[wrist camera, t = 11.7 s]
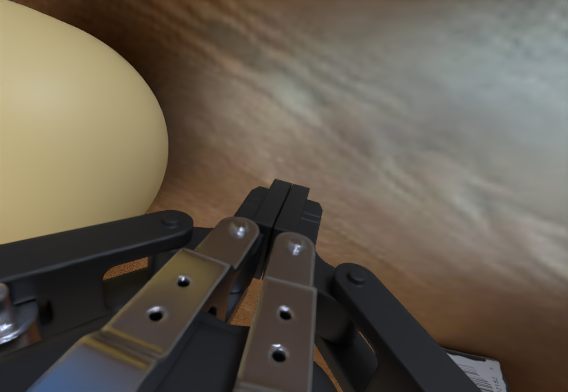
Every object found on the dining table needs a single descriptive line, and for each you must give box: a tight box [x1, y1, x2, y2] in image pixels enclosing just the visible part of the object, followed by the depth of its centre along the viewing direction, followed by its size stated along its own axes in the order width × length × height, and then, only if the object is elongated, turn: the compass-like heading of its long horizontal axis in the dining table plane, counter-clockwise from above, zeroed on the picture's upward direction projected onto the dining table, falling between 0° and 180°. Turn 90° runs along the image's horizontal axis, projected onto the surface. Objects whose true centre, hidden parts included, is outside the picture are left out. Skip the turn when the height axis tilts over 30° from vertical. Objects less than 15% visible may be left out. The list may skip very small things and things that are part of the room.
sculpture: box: [0, 0, 168, 244], centre depth 15 cm, size 12×12×11 cm
